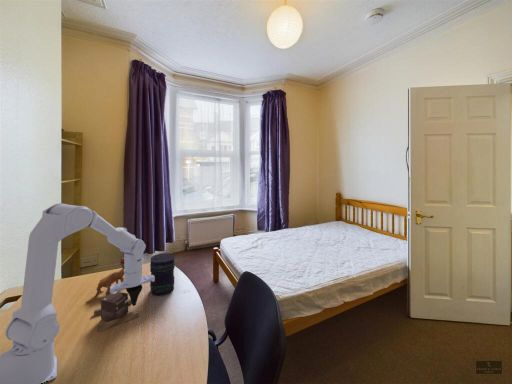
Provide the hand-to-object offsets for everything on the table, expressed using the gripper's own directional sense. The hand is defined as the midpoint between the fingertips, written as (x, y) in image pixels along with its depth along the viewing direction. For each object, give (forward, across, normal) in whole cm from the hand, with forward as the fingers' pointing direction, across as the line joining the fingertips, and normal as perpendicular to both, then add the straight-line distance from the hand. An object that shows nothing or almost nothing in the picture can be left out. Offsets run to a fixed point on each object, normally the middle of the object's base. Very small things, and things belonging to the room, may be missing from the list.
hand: (133, 304), depth 82 cm
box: (+2, +6, 0) cm, 6 cm away
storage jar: (+2, -13, -7) cm, 15 cm away
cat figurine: (+2, +6, -18) cm, 19 cm away
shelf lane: (+2, +6, 0) cm, 6 cm away
